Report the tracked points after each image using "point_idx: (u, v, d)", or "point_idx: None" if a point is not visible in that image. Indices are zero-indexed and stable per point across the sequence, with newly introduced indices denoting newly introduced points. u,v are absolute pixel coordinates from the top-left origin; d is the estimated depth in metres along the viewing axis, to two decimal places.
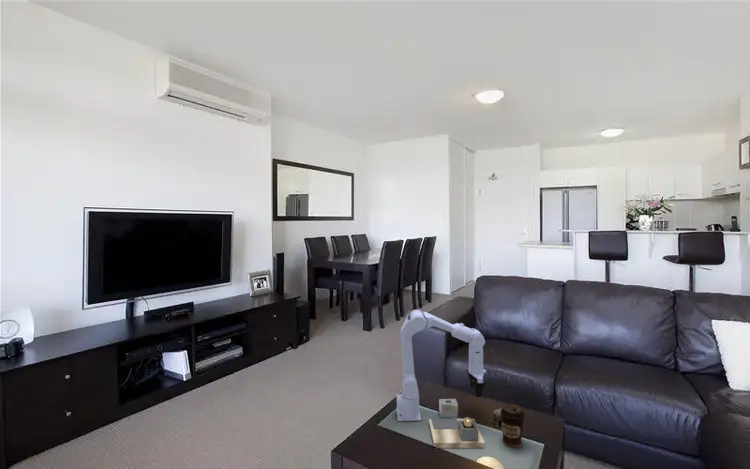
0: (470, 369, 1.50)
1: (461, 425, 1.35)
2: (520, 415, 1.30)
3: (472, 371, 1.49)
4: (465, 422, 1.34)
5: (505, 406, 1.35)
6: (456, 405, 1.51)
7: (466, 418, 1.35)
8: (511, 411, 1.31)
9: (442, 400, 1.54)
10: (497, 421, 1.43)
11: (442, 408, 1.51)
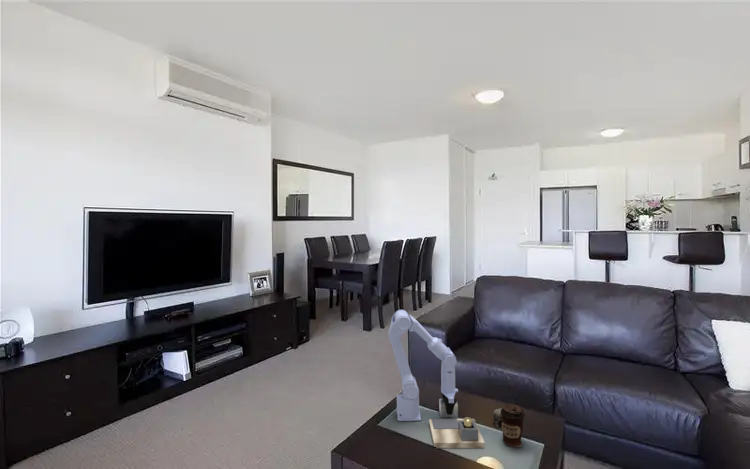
0: (442, 388, 1.51)
1: (461, 425, 1.35)
2: (520, 415, 1.30)
3: (444, 390, 1.50)
4: (465, 422, 1.34)
5: (505, 406, 1.35)
6: (456, 405, 1.51)
7: (466, 418, 1.35)
8: (511, 411, 1.31)
9: (442, 400, 1.54)
10: (497, 421, 1.44)
11: (442, 408, 1.51)
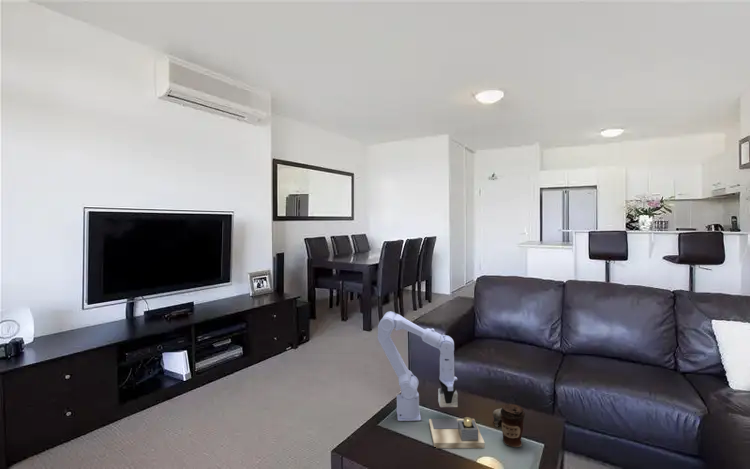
0: (441, 376, 1.47)
1: (461, 425, 1.35)
2: (520, 415, 1.30)
3: (443, 379, 1.46)
4: (465, 422, 1.34)
5: (505, 406, 1.35)
6: (456, 394, 1.46)
7: (466, 418, 1.35)
8: (511, 411, 1.31)
9: (441, 389, 1.50)
10: (497, 421, 1.44)
11: (441, 397, 1.46)
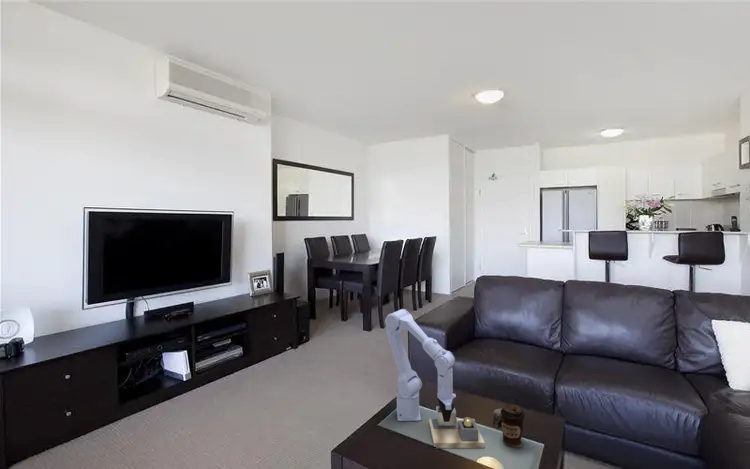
0: (439, 394, 1.41)
1: (461, 425, 1.35)
2: (520, 415, 1.30)
3: (441, 396, 1.40)
4: (465, 422, 1.34)
5: (505, 406, 1.35)
6: (454, 413, 1.40)
7: (466, 418, 1.35)
8: (511, 411, 1.31)
9: (439, 407, 1.43)
10: (497, 421, 1.44)
11: (439, 416, 1.40)
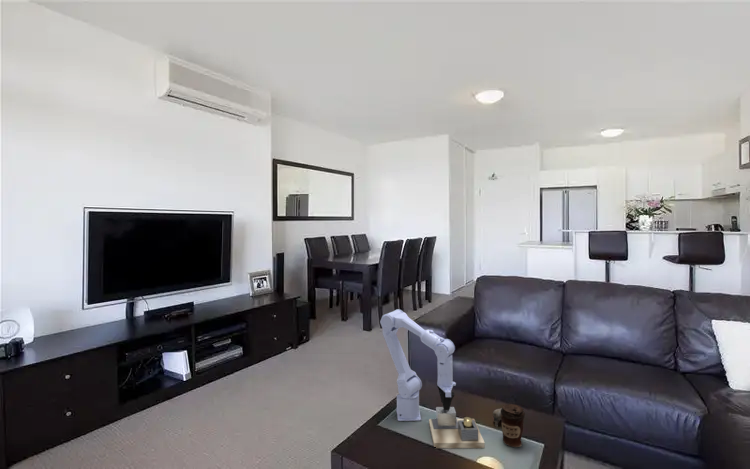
0: (439, 382, 1.40)
1: (461, 425, 1.35)
2: (520, 415, 1.30)
3: (441, 384, 1.40)
4: (465, 422, 1.34)
5: (505, 406, 1.35)
6: (454, 414, 1.40)
7: (466, 418, 1.35)
8: (511, 411, 1.31)
9: (439, 408, 1.43)
10: (497, 421, 1.44)
11: (439, 417, 1.40)
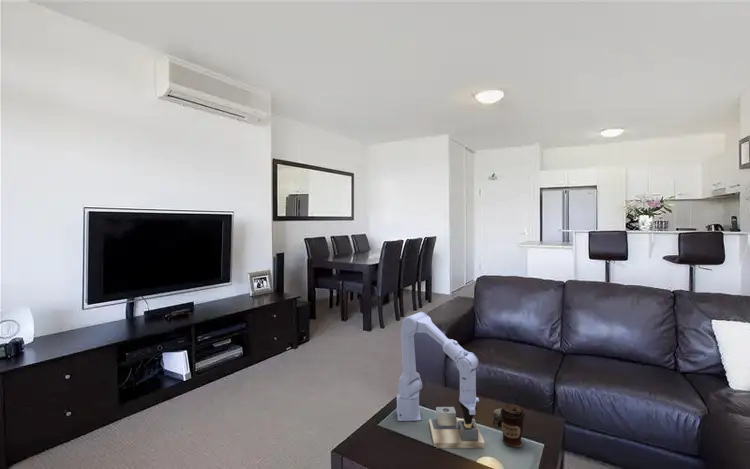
0: (461, 398, 1.33)
1: (461, 425, 1.35)
2: (520, 415, 1.30)
3: (463, 400, 1.32)
4: (465, 425, 1.34)
5: (505, 406, 1.35)
6: (454, 414, 1.40)
7: None
8: (511, 411, 1.31)
9: (439, 408, 1.43)
10: (497, 421, 1.44)
11: (439, 417, 1.40)
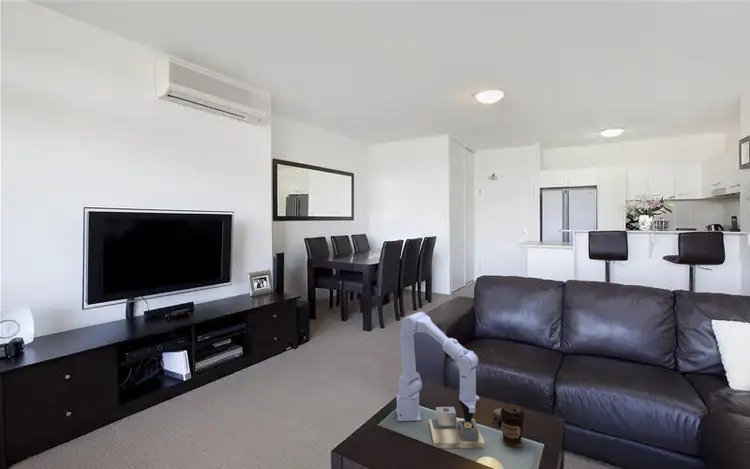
0: (461, 396, 1.33)
1: (461, 425, 1.35)
2: (520, 415, 1.30)
3: (463, 398, 1.32)
4: (465, 427, 1.34)
5: (505, 406, 1.35)
6: (454, 414, 1.40)
7: (466, 423, 1.35)
8: (511, 411, 1.31)
9: (439, 408, 1.43)
10: (497, 420, 1.44)
11: (439, 417, 1.40)
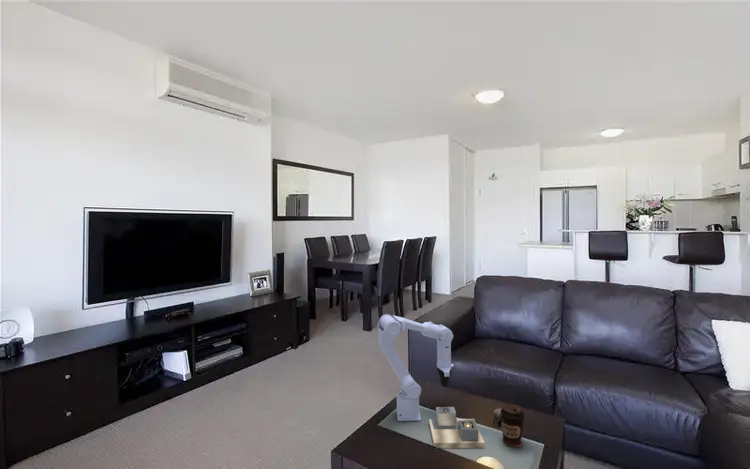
0: (438, 363, 1.55)
1: (461, 425, 1.35)
2: (520, 415, 1.30)
3: (440, 365, 1.54)
4: (465, 427, 1.34)
5: (505, 406, 1.35)
6: (454, 414, 1.40)
7: (466, 423, 1.35)
8: (511, 411, 1.31)
9: (439, 408, 1.43)
10: (497, 420, 1.44)
11: (439, 417, 1.40)
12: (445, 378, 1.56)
